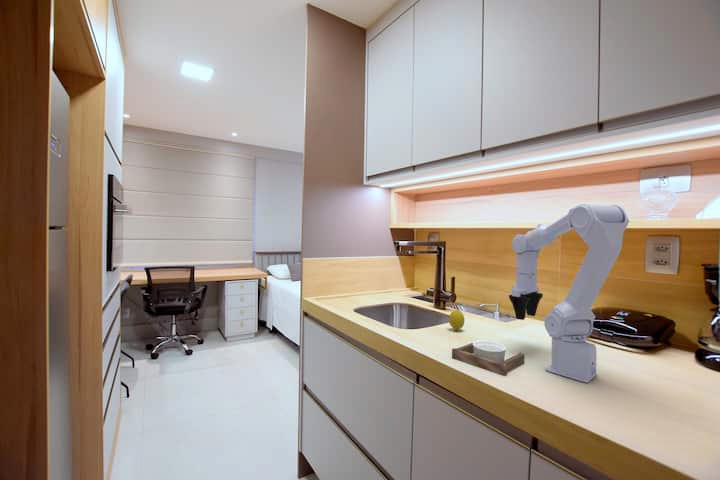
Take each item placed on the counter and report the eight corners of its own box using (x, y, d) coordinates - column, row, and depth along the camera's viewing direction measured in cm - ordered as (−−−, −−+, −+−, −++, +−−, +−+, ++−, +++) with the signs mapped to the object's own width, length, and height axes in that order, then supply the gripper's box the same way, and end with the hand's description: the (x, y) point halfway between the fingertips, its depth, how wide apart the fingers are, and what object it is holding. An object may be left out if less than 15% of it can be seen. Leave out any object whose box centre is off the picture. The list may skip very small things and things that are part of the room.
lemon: (462, 328, 123) (462, 308, 123) (465, 332, 117) (466, 311, 117) (447, 328, 124) (448, 307, 124) (450, 332, 118) (450, 310, 118)
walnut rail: (526, 363, 89) (526, 354, 89) (504, 375, 81) (504, 365, 81) (475, 348, 101) (475, 340, 101) (451, 357, 93) (452, 349, 93)
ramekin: (499, 355, 95) (499, 341, 95) (511, 367, 86) (511, 351, 86) (469, 354, 96) (469, 340, 96) (477, 366, 87) (477, 350, 87)
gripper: (523, 271, 107) (522, 311, 107) (502, 273, 98) (501, 318, 98) (546, 273, 101) (545, 315, 101) (526, 276, 92) (525, 323, 92)
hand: (525, 317), depth 99 cm, fingers open, 7 cm apart
